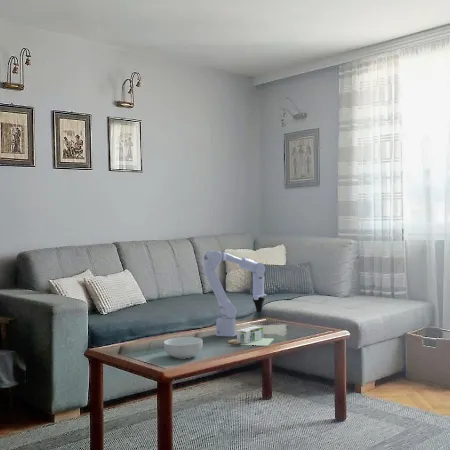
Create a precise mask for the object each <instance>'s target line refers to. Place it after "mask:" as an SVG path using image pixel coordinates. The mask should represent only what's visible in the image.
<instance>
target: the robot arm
mask: <svg viewBox="0 0 450 450" xmlns="http://www.w3.org/2000/svg"><path fill="white" fill-rule="evenodd" d="M224 261H228V262H231V263H233V264H237V265H238V266H239V268H240V269H243V270H246V271H247V272H251V273H252V297H253V298H252V302H253V303H254V306H255V310H256V313H262V311H263V305H264V301H265V299H266V296H267V294H266V293H265V278H264V277H265V273H266V270H267V269H266V268H265V264H264V263H262V262H258V261H257V260H253V259H250V257H248V256H245V257H238V256H235V255H233V254H231V253H228V252H225V251H220V250H213V249H210V250H207V251H206V252H205V254H204V256H203V272H204V274H205V277H206V279H207V281H208V283H209V285H210V287H211V289H212V292H213V294H214V296H215V298H216V300H217V305H218V309H219V310H218V311H219V313H220V315H221V316H220V317H217V318H216V322H215V323H216V324H215V327H216V328H215V329H216V331H215V332H216V335H215V337H236V336H237V331H236V316H237V313H238V311H237V307H235V306H234V305H233V303H232V302H231V300H230V299H229V298H228V296H227V294H226V291H225V290H224V288H223V285H222V283H221V281H220V278H219V276H218V275H217V273H216V269H217V267H218V266H219V264H220V263H221V262H224Z"/></svg>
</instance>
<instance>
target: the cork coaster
mask: <svg viewBox="0 0 450 450" xmlns="http://www.w3.org/2000/svg"><path fill="white" fill-rule="evenodd" d="M227 343H228V344H231V345H232V344H233V345H238V344H239V345H240V344H241V343H240V342H237V338H236V339H230V340H229V339H228V340H227Z"/></svg>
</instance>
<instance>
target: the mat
mask: <svg viewBox="0 0 450 450" xmlns="http://www.w3.org/2000/svg"><path fill="white" fill-rule="evenodd" d="M274 339H275V338H265V337H263V339H260V340H256V341H253V342H250V343H241V344H239V346H252V345H254V346H253V347H255V345H256V347H268V346H269V345H270V344H271V343H272V342H273V341H274Z"/></svg>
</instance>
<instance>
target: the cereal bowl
mask: <svg viewBox="0 0 450 450" xmlns="http://www.w3.org/2000/svg"><path fill="white" fill-rule="evenodd" d="M203 342H204V341H203V339H202V338H200V337H194V336H193V337H192V336H182V337H172V338H169V339H166V340H164V342H163V349H164V352H165V353H166V354H167V355H168V356H170V357H173V358H175V359H176V358H179V359H178V360H187V359H186V358H188V359H191V357H192V358H193V357H194V356H196V355H198V354H199V353H200V352H201V351H202V349H203V345H204V343H203Z"/></svg>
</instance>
